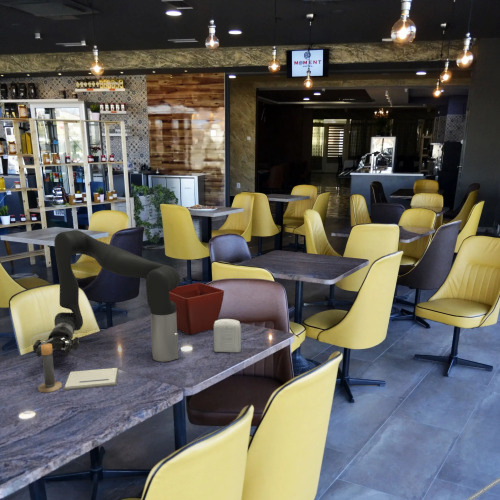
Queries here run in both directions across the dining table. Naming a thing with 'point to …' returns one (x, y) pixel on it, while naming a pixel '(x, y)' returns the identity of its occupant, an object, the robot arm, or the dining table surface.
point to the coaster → (52, 389)
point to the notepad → (91, 379)
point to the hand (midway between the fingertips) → (52, 353)
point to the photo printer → (227, 335)
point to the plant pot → (197, 307)
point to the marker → (48, 365)
